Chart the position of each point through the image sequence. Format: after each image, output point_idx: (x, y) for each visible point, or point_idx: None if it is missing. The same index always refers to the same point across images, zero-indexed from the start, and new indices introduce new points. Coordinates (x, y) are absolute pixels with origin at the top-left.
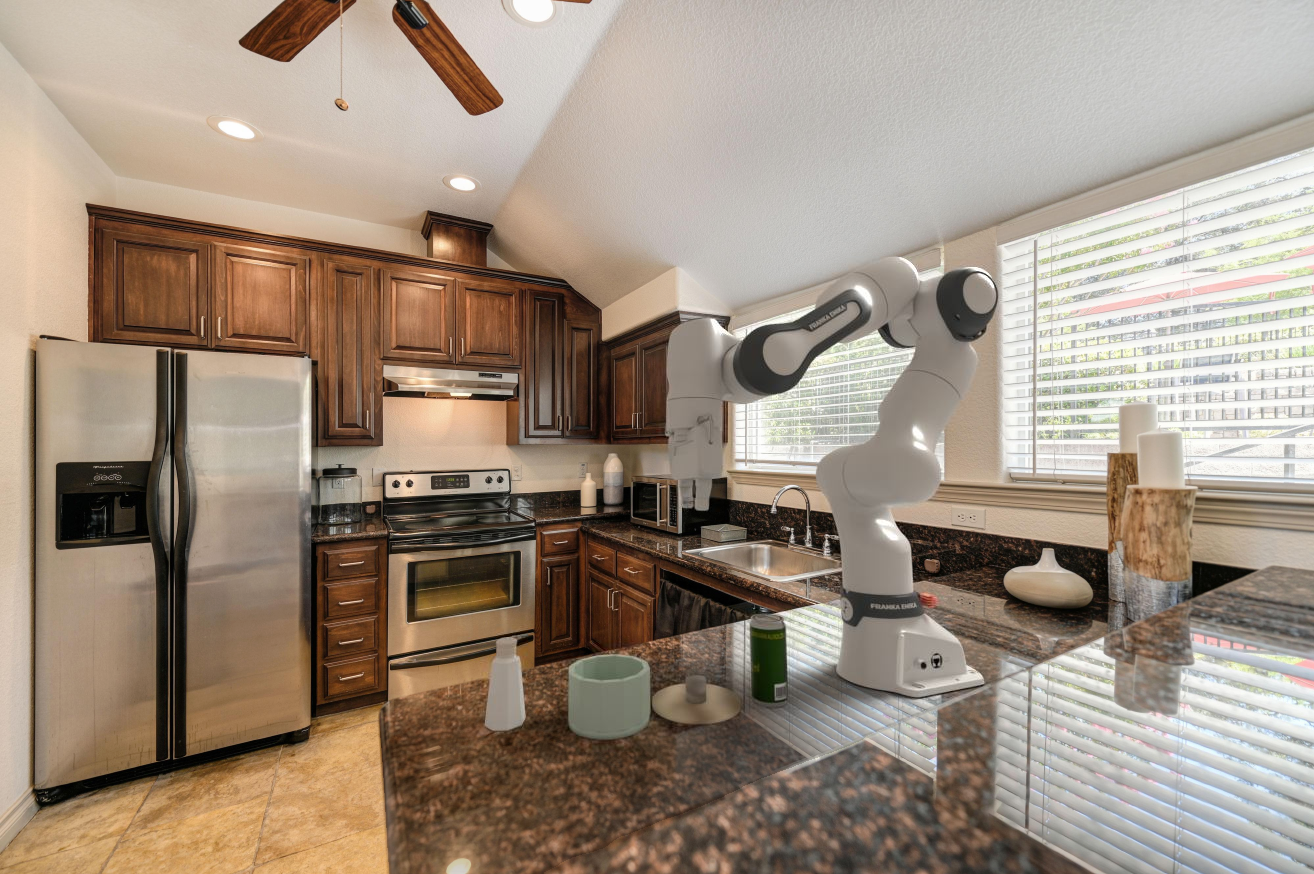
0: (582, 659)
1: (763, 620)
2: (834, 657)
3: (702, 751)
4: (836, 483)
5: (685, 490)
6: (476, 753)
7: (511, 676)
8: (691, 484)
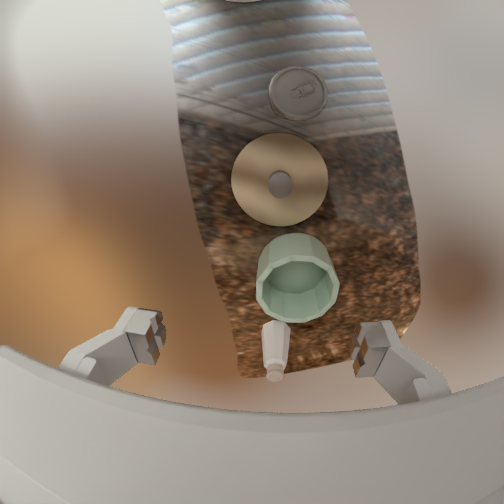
0: (265, 311)
1: (313, 104)
2: None
3: (371, 204)
4: None
5: (110, 366)
6: (316, 340)
7: (286, 354)
8: (96, 370)
